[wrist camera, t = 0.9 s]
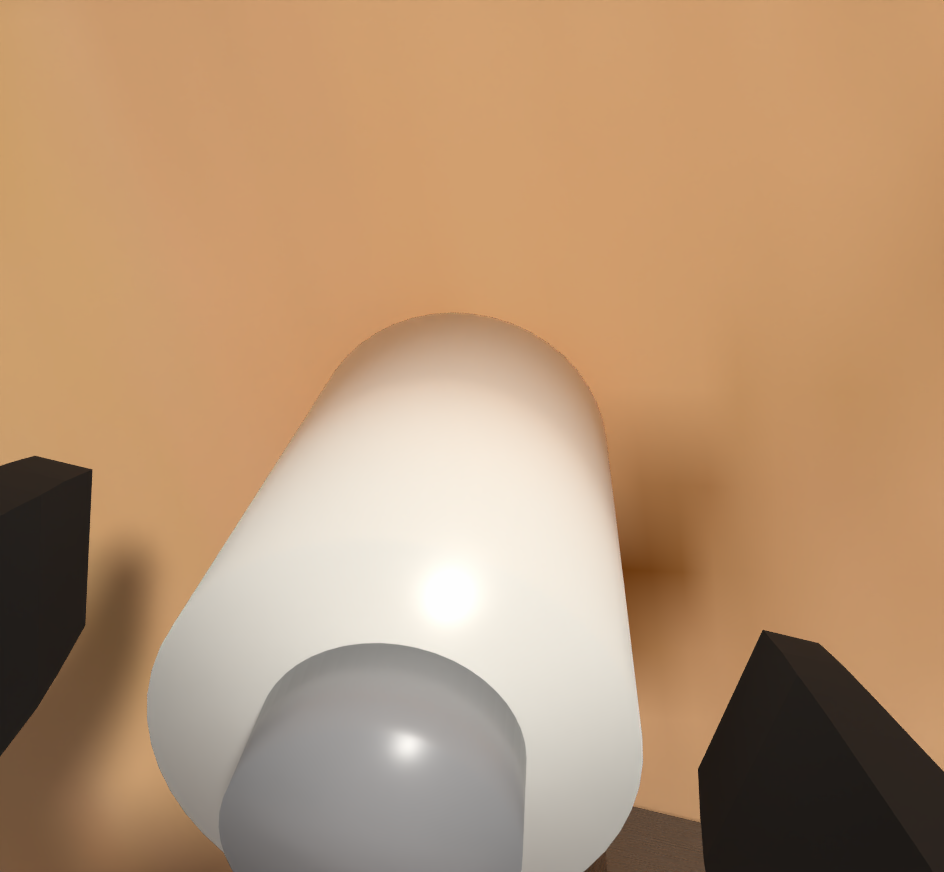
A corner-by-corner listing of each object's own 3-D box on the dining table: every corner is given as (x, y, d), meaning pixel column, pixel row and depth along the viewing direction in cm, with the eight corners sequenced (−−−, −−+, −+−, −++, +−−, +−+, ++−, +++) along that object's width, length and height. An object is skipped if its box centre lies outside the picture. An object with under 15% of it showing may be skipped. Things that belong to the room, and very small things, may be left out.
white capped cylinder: (645, 355, 12) (740, 703, 6) (561, 606, 14) (566, 1070, 8) (338, 279, 12) (106, 550, 6) (294, 541, 14) (83, 959, 8)
